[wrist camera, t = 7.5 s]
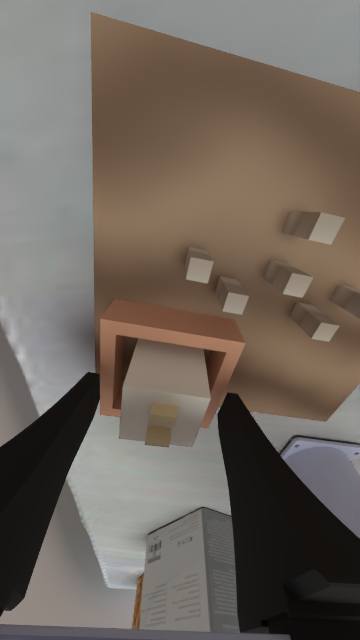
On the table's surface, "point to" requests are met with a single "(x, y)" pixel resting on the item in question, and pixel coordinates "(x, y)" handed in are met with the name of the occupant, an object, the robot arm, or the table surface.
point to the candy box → (138, 604)
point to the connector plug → (164, 394)
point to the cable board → (230, 208)
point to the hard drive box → (191, 576)
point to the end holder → (168, 329)
